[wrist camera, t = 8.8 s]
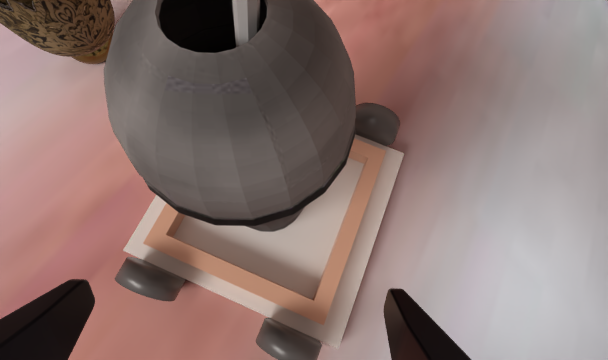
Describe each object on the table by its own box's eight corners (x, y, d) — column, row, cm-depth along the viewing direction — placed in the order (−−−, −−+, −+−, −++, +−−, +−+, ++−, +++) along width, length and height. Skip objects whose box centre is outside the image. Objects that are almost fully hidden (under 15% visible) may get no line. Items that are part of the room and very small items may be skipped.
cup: (32, 47, 24) (-87, -55, 17) (109, 1, 26) (33, -111, 18) (83, 104, 23) (-21, 21, 15) (160, 51, 25) (102, -47, 17)
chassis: (404, 144, 23) (424, 121, 19) (329, 366, 18) (338, 388, 15) (232, 77, 24) (222, 45, 21) (119, 268, 19) (82, 267, 16)
